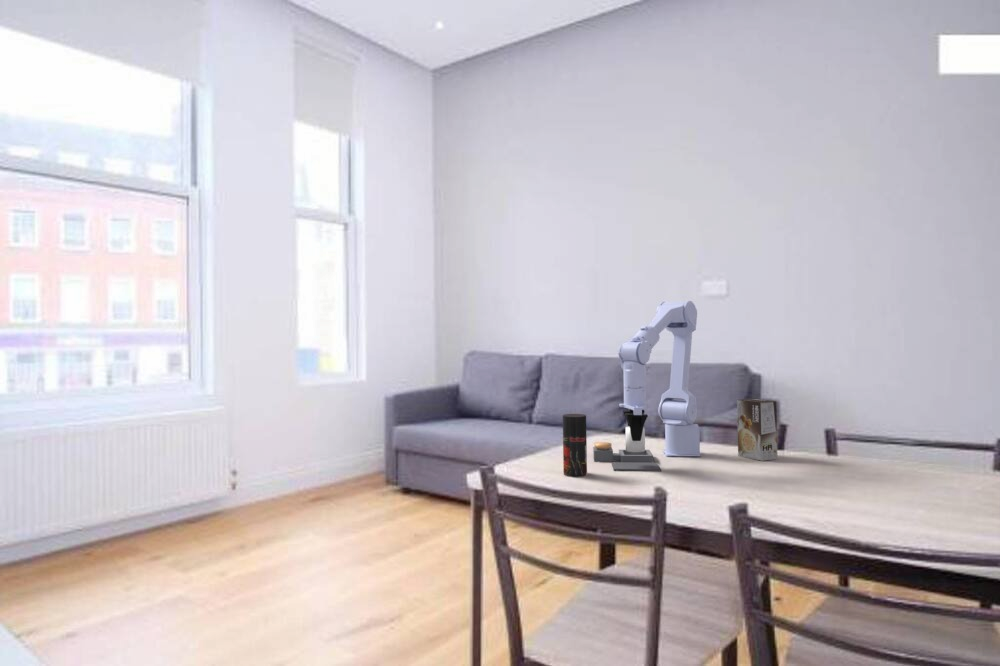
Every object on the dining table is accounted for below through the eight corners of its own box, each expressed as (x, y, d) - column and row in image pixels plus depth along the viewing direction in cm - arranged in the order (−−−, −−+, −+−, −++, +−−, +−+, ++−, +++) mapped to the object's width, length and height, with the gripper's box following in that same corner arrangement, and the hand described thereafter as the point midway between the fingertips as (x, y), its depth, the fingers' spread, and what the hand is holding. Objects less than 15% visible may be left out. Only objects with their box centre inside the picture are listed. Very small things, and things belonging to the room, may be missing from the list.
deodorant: (588, 476, 165) (587, 416, 165) (564, 477, 165) (563, 417, 165) (585, 471, 171) (584, 413, 171) (562, 471, 171) (561, 413, 171)
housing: (649, 456, 188) (649, 446, 188) (653, 463, 180) (653, 452, 179) (593, 456, 190) (592, 446, 190) (594, 462, 181) (594, 451, 181)
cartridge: (643, 448, 177) (643, 423, 176) (646, 452, 172) (645, 426, 171) (624, 448, 177) (624, 423, 177) (626, 452, 172) (626, 426, 172)
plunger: (611, 455, 187) (610, 442, 187) (612, 458, 182) (612, 445, 182) (594, 455, 188) (593, 442, 188) (594, 458, 183) (594, 445, 183)
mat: (656, 464, 178) (656, 462, 178) (661, 471, 170) (661, 469, 170) (611, 464, 179) (611, 462, 179) (613, 470, 171) (613, 468, 171)
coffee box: (778, 459, 182) (778, 400, 182) (761, 461, 179) (761, 402, 179) (753, 453, 190) (752, 397, 190) (736, 455, 188) (735, 399, 187)
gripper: (617, 384, 182) (617, 434, 182) (621, 390, 167) (622, 443, 167) (643, 384, 181) (643, 434, 181) (649, 390, 167) (650, 443, 167)
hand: (635, 438), depth 174 cm, fingers closed on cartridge, 5 cm apart
